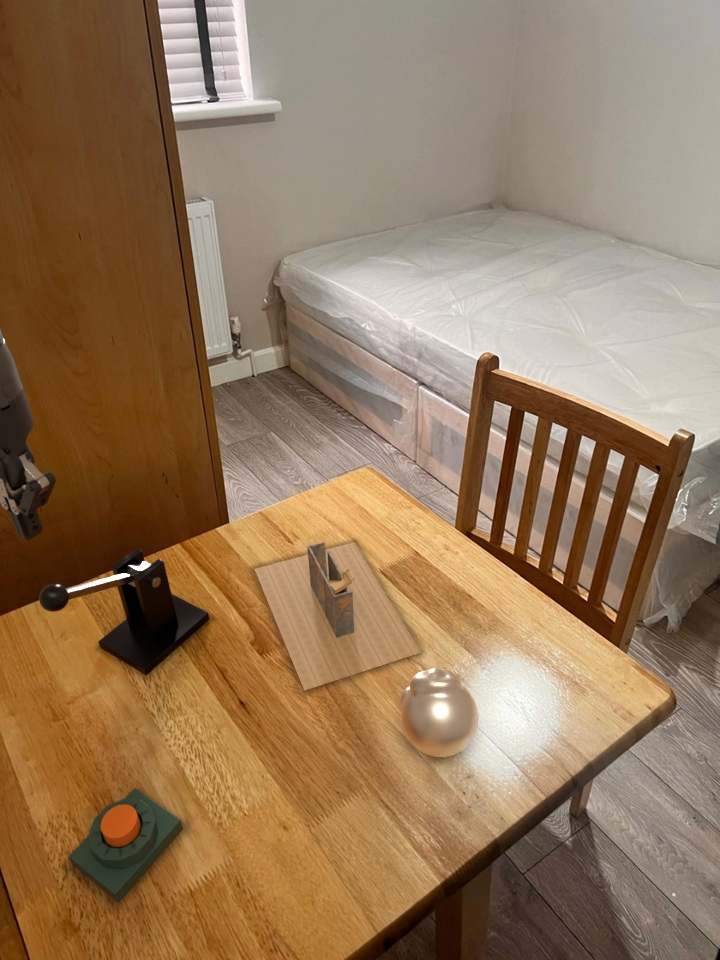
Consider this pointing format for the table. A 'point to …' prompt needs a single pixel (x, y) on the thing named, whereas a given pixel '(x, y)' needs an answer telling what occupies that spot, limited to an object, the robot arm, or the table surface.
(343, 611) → the architectural model on board
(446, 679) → the silver rounded lump
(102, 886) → the button box
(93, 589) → the lever
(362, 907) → the table surface
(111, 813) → the button
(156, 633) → the bracket
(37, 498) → the robot arm
